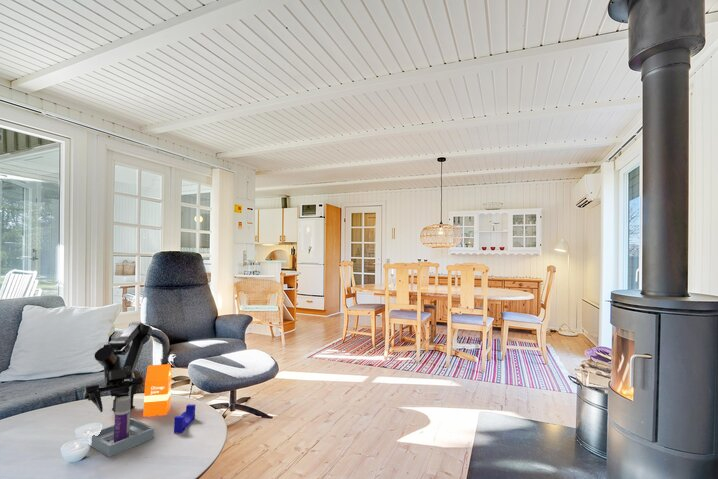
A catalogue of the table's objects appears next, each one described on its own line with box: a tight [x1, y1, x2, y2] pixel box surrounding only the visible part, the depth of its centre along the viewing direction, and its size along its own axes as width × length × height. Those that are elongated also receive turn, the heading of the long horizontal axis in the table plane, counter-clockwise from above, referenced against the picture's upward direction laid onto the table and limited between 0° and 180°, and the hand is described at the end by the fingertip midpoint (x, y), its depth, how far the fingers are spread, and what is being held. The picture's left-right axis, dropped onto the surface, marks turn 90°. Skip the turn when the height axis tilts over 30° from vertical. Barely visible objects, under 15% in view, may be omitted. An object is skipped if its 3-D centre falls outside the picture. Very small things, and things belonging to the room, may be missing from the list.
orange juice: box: [142, 363, 172, 418], centre depth 154 cm, size 8×9×20 cm
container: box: [113, 396, 131, 443], centre depth 131 cm, size 5×5×15 cm
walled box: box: [91, 417, 155, 457], centre depth 130 cm, size 15×15×4 cm
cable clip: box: [173, 403, 196, 434], centre depth 143 cm, size 12×4×6 cm, turn 3°
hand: (116, 408), depth 135 cm, fingers open, 9 cm apart
